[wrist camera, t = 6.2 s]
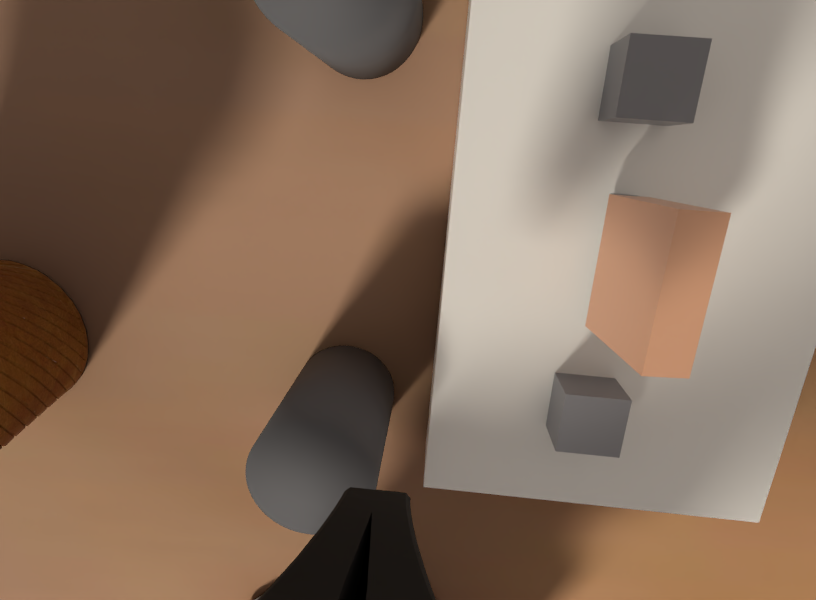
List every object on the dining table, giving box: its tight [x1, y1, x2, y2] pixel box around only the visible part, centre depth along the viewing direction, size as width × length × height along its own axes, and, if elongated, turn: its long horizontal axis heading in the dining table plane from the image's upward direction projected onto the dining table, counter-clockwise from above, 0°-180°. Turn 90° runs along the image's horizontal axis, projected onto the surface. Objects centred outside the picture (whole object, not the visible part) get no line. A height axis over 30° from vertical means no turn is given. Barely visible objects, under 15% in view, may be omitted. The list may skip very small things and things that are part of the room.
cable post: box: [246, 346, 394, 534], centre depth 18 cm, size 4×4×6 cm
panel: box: [423, 0, 816, 523], centre depth 17 cm, size 12×18×5 cm, turn 176°
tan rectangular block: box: [585, 193, 731, 379], centre depth 14 cm, size 1×4×4 cm, turn 175°
